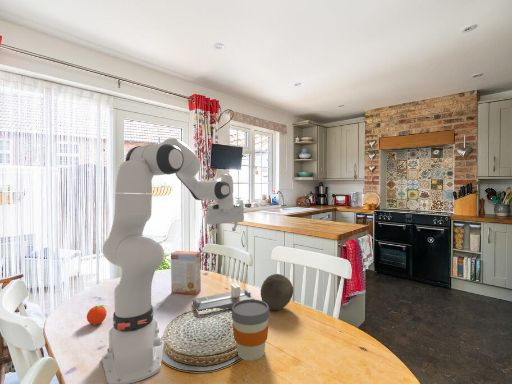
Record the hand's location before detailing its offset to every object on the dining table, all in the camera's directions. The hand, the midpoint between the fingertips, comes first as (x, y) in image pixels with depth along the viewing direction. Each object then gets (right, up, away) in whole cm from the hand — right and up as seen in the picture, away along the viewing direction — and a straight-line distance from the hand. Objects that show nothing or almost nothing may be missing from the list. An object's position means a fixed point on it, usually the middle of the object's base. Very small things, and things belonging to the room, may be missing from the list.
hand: (225, 231), depth 138 cm
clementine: (-48, -33, -31) cm, 66 cm away
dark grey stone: (+25, -32, -20) cm, 45 cm away
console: (+1, -32, -14) cm, 35 cm away
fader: (+6, -28, -12) cm, 31 cm away
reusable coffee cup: (+14, -33, -50) cm, 61 cm away
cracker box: (-20, -32, 0) cm, 38 cm away
